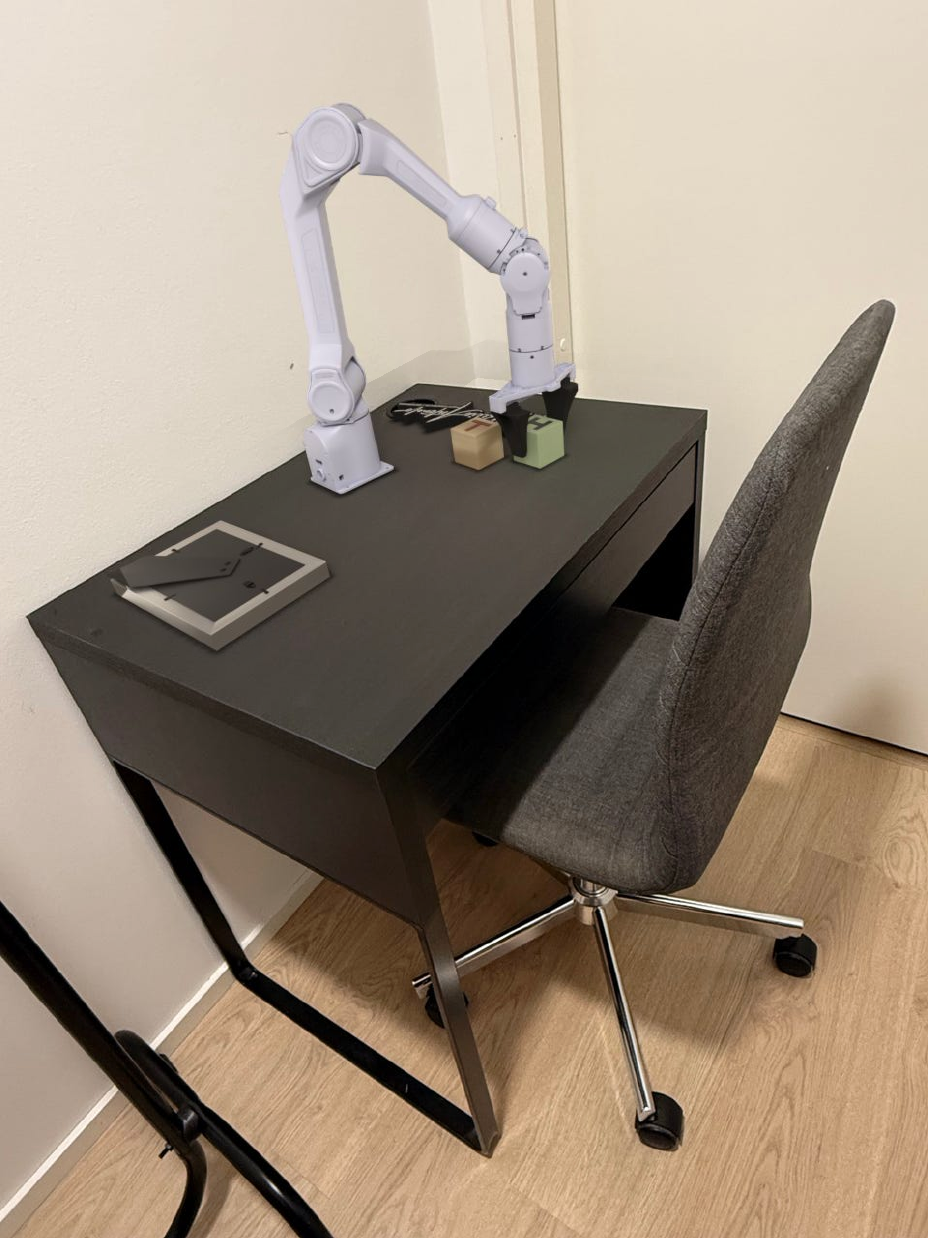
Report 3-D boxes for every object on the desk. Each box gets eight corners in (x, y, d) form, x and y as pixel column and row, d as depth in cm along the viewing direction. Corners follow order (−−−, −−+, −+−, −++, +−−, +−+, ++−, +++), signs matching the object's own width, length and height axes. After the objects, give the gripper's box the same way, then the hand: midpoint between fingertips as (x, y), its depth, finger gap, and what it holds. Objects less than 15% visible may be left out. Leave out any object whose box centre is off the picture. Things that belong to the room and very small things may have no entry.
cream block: (478, 470, 103) (474, 435, 100) (454, 462, 107) (450, 428, 104) (504, 457, 106) (500, 422, 103) (480, 449, 109) (476, 415, 106)
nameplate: (558, 405, 115) (534, 431, 108) (559, 414, 116) (534, 441, 109) (406, 397, 127) (375, 420, 120) (407, 405, 127) (377, 429, 121)
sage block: (540, 468, 101) (537, 433, 98) (513, 460, 104) (510, 425, 102) (564, 455, 104) (562, 420, 101) (538, 447, 107) (535, 413, 104)
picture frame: (117, 594, 89) (216, 651, 77) (107, 574, 87) (208, 629, 75) (225, 534, 98) (330, 576, 86) (218, 515, 96) (324, 555, 84)
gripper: (513, 367, 89) (522, 472, 97) (592, 332, 96) (595, 432, 104) (473, 359, 93) (485, 459, 101) (551, 326, 101) (557, 422, 109)
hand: (538, 445), depth 103 cm, fingers open, 7 cm apart
